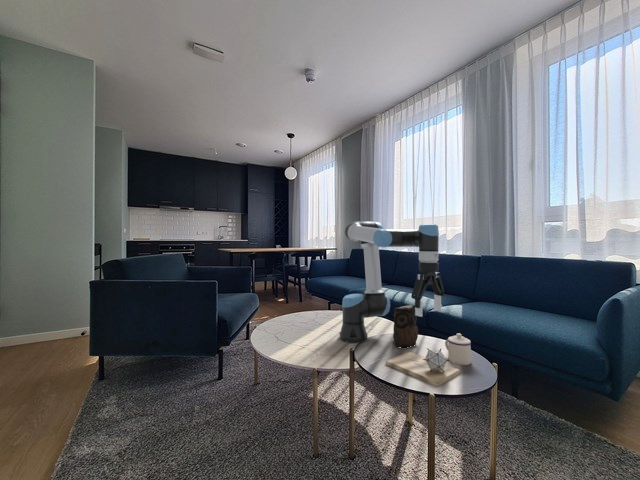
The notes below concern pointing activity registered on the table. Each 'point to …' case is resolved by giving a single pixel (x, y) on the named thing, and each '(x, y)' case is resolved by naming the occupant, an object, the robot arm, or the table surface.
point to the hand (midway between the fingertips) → (428, 313)
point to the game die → (435, 360)
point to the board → (422, 368)
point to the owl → (405, 326)
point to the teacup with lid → (459, 349)
